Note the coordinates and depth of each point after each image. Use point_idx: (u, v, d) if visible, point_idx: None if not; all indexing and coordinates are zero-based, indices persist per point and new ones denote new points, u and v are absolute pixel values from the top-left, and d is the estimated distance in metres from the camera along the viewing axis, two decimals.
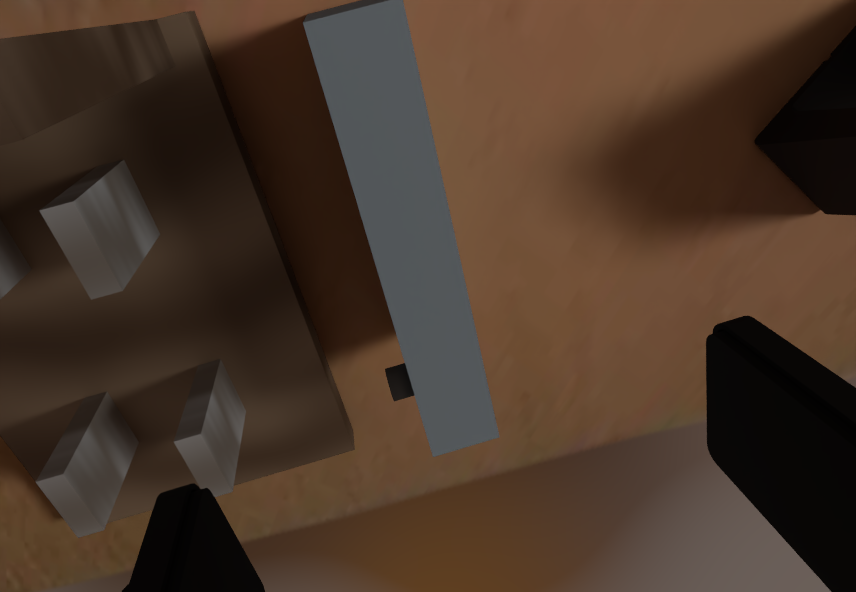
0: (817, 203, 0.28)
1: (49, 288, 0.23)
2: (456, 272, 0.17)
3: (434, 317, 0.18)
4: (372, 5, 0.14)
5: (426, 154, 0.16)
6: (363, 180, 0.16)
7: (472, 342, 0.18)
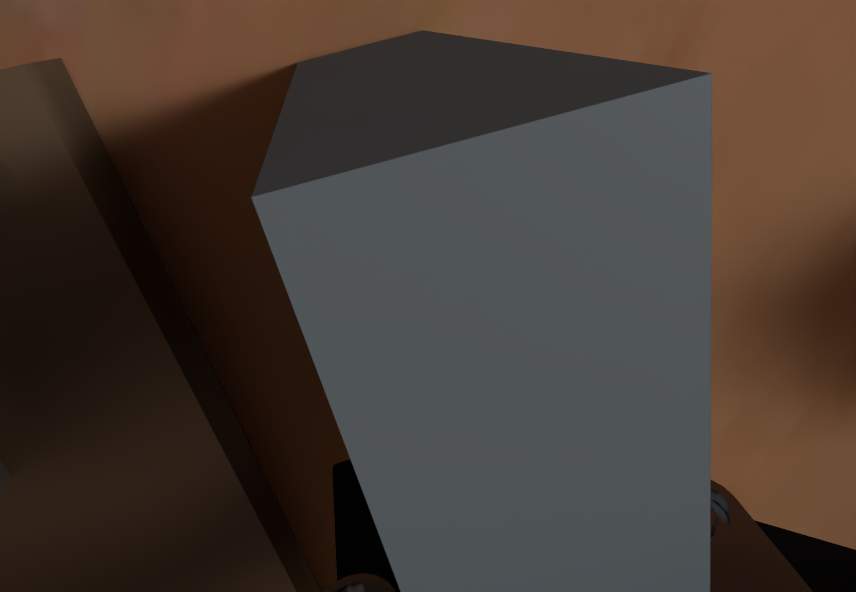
0: None
1: None
2: None
3: None
4: (577, 113, 0.03)
5: (678, 567, 0.05)
6: None
7: None
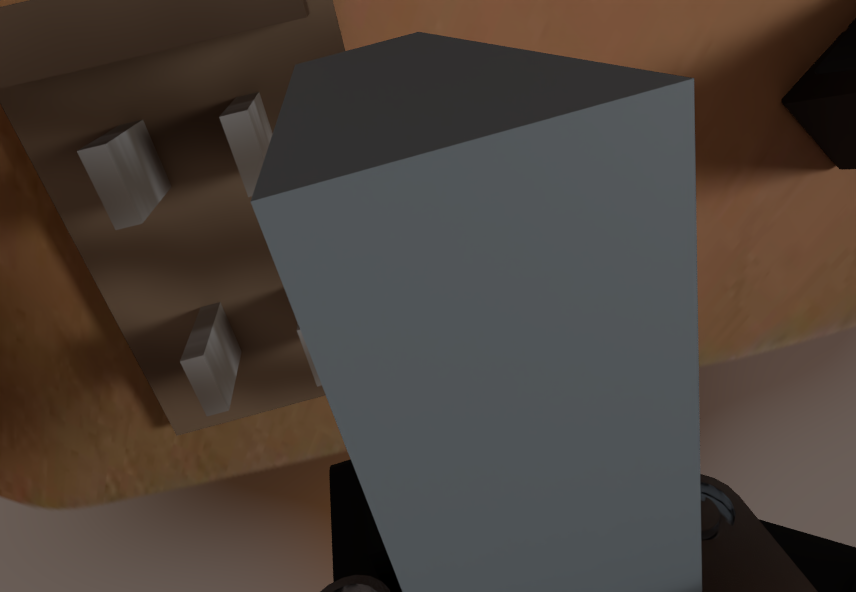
0: (833, 159, 0.33)
1: (183, 204, 0.27)
2: None
3: None
4: (565, 118, 0.03)
5: (669, 558, 0.05)
6: None
7: None
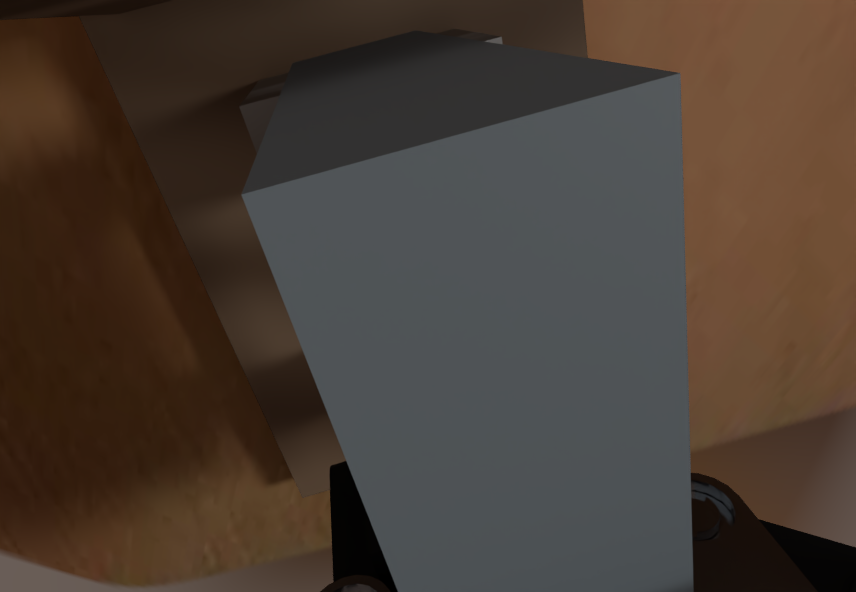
0: None
1: None
2: None
3: None
4: (552, 112, 0.03)
5: (661, 551, 0.05)
6: None
7: None
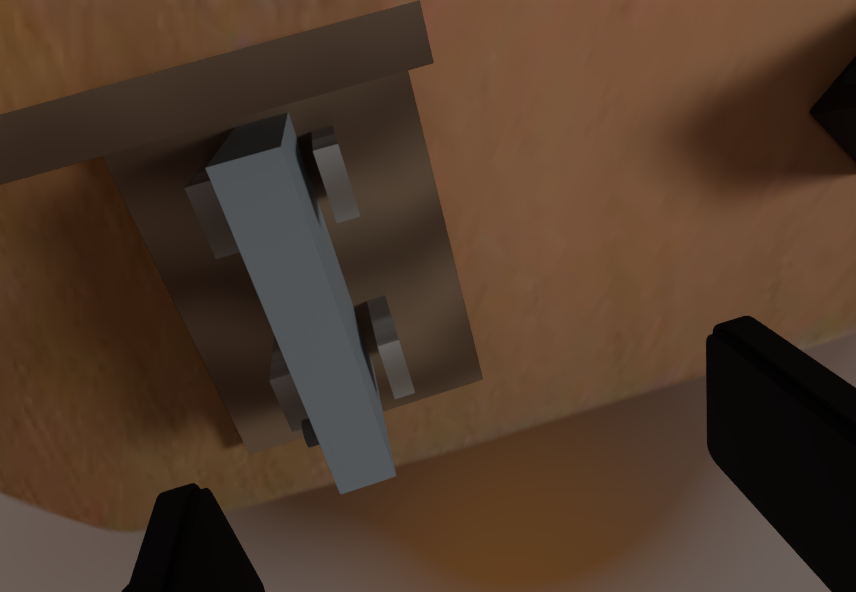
0: None
1: None
2: (344, 345, 0.21)
3: (330, 380, 0.22)
4: (258, 153, 0.18)
5: (310, 257, 0.20)
6: (262, 278, 0.20)
7: (364, 399, 0.23)
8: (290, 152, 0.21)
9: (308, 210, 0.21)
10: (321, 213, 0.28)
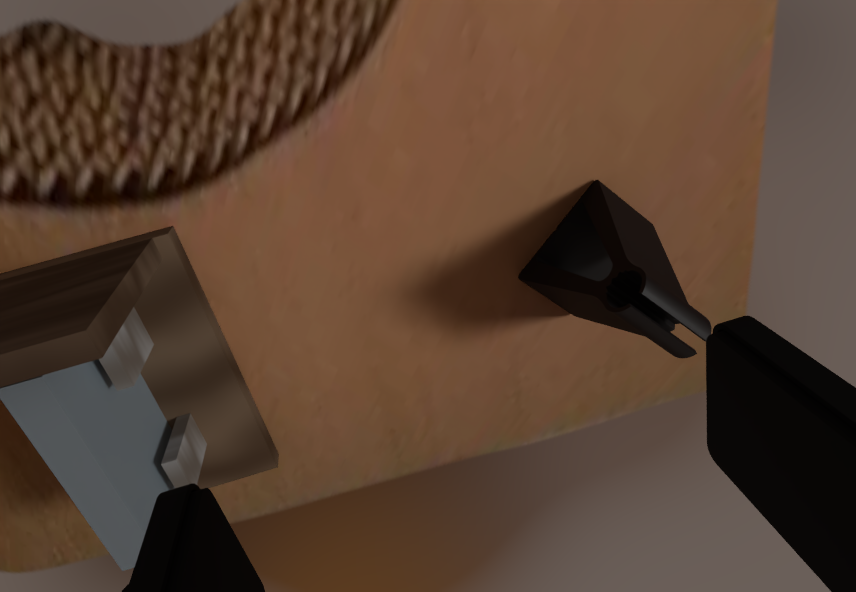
0: (566, 310, 0.45)
1: None
2: (106, 482, 0.33)
3: (101, 503, 0.33)
4: (27, 381, 0.29)
5: (73, 434, 0.31)
6: (42, 447, 0.31)
7: (127, 513, 0.34)
8: None
9: (82, 396, 0.32)
10: None
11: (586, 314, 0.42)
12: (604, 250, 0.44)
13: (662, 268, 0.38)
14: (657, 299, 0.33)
